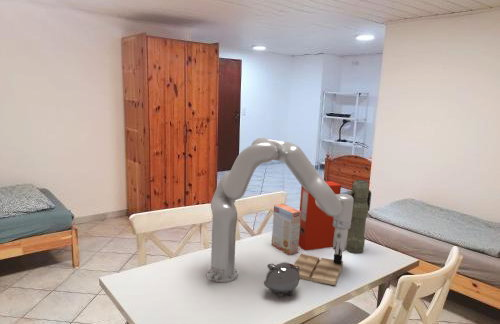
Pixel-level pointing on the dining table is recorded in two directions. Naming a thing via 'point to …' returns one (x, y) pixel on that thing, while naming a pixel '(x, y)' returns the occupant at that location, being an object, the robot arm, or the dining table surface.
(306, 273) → the laid planks
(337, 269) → the board
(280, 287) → the piggy bank
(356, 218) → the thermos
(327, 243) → the file binder
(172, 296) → the dining table surface
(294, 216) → the cracker box
